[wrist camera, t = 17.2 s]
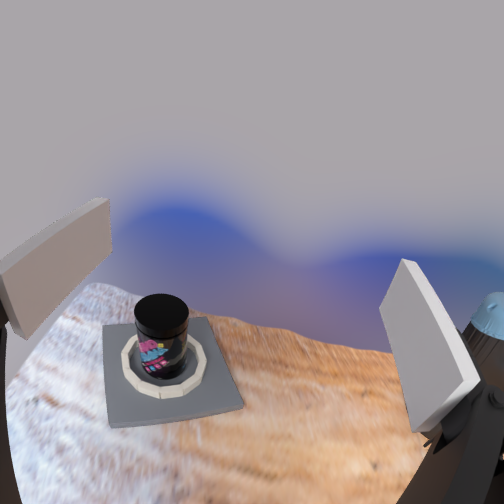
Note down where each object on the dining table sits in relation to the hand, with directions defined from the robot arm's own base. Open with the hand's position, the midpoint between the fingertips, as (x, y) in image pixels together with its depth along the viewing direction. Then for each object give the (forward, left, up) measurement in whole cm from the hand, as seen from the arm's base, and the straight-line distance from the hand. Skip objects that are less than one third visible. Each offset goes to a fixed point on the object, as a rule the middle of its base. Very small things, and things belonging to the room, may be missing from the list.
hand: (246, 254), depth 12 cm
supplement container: (+1, -17, -28) cm, 33 cm away
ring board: (+2, -17, -30) cm, 34 cm away
